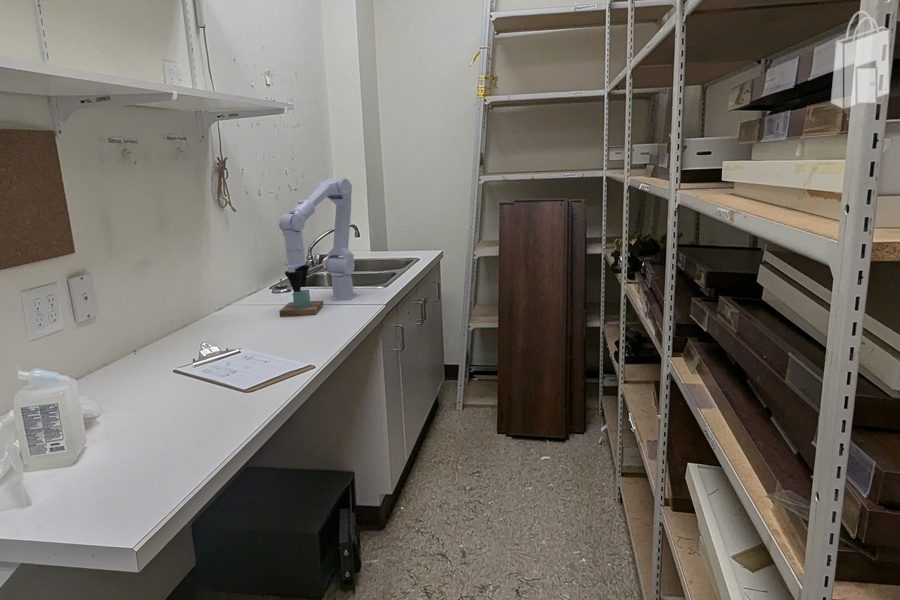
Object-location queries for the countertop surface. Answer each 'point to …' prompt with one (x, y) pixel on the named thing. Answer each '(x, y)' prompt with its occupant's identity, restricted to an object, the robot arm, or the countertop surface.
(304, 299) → the teal block
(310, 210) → the robot arm
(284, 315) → the walnut plinth
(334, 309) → the countertop surface
